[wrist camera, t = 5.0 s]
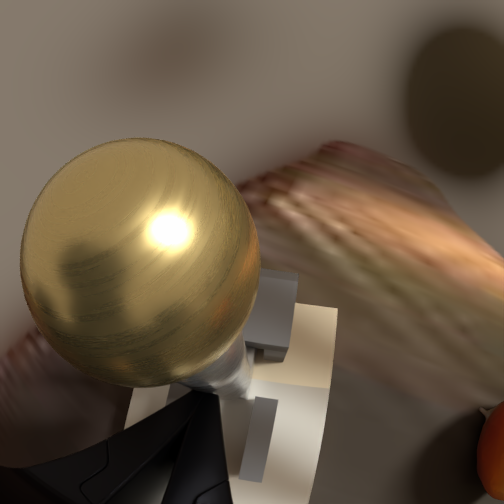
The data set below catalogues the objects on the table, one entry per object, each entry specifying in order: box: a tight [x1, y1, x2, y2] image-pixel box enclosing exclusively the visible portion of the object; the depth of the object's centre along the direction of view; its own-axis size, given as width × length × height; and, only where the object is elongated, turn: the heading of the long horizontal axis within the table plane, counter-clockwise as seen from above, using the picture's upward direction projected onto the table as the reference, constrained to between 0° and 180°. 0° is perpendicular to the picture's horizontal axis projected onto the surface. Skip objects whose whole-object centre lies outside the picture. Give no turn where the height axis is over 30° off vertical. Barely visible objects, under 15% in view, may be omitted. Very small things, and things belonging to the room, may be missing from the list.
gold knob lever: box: [20, 138, 261, 401], centre depth 8 cm, size 6×3×13 cm, turn 170°
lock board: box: [124, 268, 338, 504], centre depth 11 cm, size 15×10×5 cm, turn 169°
